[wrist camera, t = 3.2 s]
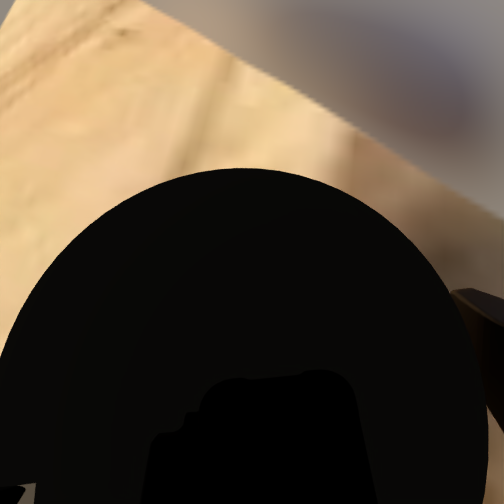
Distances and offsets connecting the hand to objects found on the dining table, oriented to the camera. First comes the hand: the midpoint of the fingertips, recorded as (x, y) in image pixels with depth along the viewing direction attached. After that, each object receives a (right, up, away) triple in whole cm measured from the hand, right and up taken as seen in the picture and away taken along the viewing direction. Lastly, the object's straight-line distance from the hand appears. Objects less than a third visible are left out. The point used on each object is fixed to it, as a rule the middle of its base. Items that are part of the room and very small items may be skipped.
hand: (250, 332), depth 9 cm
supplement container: (+1, -4, +6) cm, 7 cm away
